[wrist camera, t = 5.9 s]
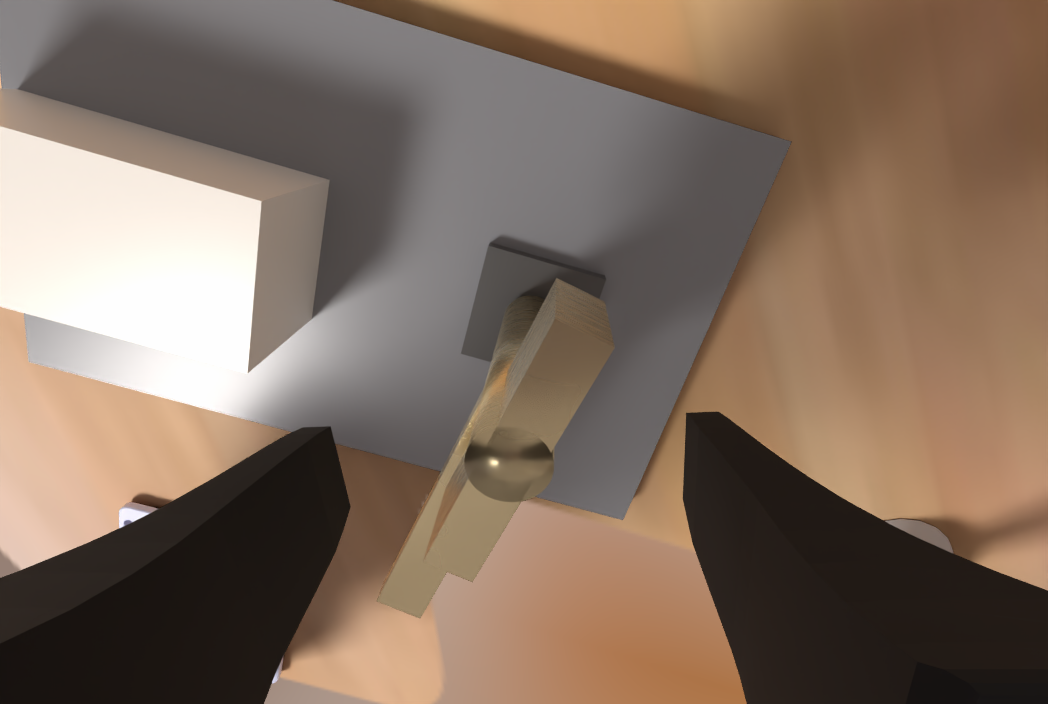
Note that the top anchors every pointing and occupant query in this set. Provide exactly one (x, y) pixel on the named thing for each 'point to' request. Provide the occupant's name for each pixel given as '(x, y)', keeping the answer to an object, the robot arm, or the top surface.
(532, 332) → the t key
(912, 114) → the top surface
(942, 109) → the top surface
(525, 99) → the plate
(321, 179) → the cover
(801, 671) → the robot arm
